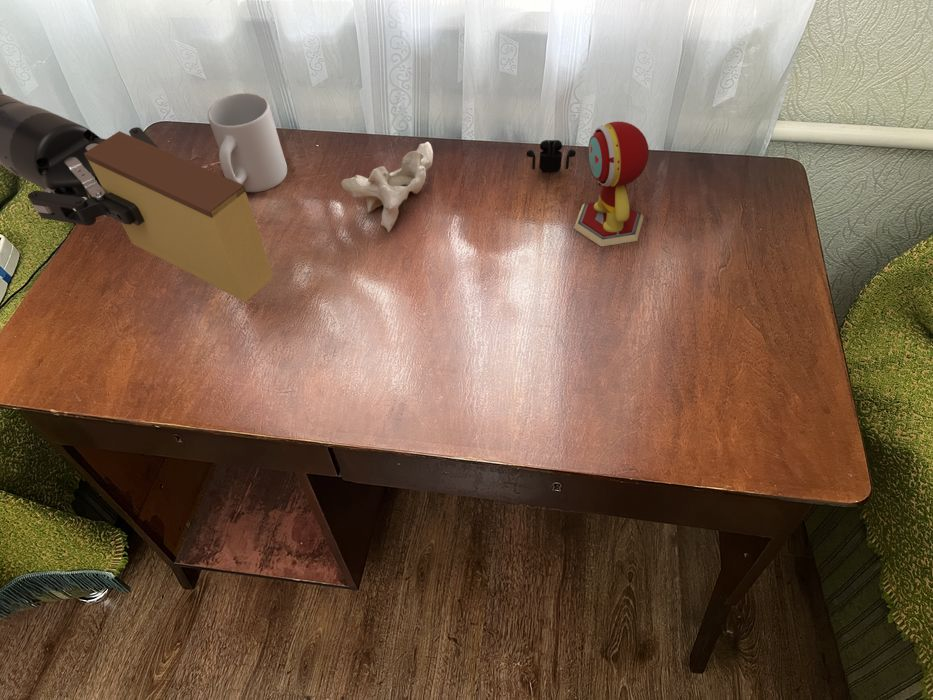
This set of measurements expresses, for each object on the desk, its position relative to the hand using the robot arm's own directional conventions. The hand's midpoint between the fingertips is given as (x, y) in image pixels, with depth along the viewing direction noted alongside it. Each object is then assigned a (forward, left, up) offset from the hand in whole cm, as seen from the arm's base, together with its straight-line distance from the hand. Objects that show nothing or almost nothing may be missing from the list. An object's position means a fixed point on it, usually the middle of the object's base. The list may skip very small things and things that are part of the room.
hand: (157, 201), depth 66 cm
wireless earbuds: (+49, +19, -22) cm, 57 cm away
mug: (+7, +31, -22) cm, 38 cm away
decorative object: (+25, +19, -22) cm, 38 cm away
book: (+2, -2, -6) cm, 7 cm away
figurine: (+52, +5, -22) cm, 57 cm away
